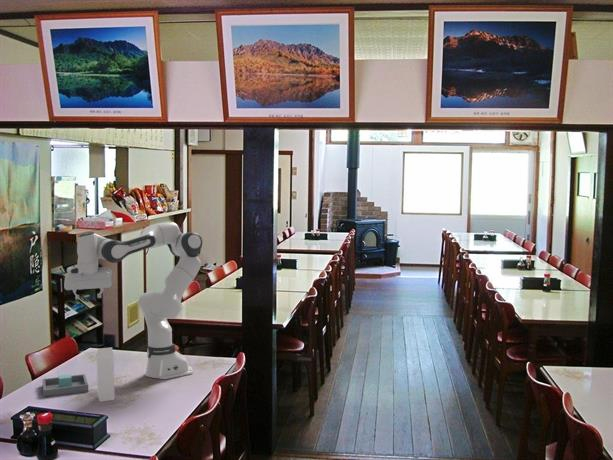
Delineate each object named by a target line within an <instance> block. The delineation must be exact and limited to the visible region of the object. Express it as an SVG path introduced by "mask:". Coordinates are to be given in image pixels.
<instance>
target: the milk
mask: <svg viewBox="0 0 613 460" xmlns="http://www.w3.org/2000/svg"><path fill="white" fill-rule="evenodd" d="M113 351H114V350H113V347H102V348H97V353H96V362H97V363H96V365H97V366H96V367H97V369H96V370H97V374H96V376H97V377H96V378H97V398H98V401H99V402H100V403H101V402H108V401H115V364H114V363H115V358H114V352H113Z"/></svg>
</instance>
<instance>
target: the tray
mask: <svg viewBox="0 0 613 460" xmlns="http://www.w3.org/2000/svg"><path fill="white" fill-rule="evenodd" d="M71 377H72V386H69V387H61V388H59V376H58V377H51V378H50V377H49V378H42V391H43V398H48V397H49V398H50V397H58V396H63V395H64V396H65V395H72V394H79V393H87V392H89V383H88V380H87V377H86V374H85V373H83V374H75V375H74V374H73V375H71Z"/></svg>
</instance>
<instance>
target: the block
mask: <svg viewBox="0 0 613 460" xmlns="http://www.w3.org/2000/svg"><path fill="white" fill-rule="evenodd" d="M71 376H72V374H71V373H69V374H60V375H58V377H59V388H61V387H69V386H72V377H71Z"/></svg>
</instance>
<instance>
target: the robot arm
mask: <svg viewBox="0 0 613 460" xmlns="http://www.w3.org/2000/svg"><path fill="white" fill-rule="evenodd" d="M166 245H167V247H168V248H169V251H170V253H171V254H172V255H173V256H174V257H177V258H179V260H178V262H177V264H176V265H175V266H174V267H173V268H172V270H171V271H170V272H169V273H168V275H167V276H166V277H165V278H164V284H165V288H164V290H163V291H162V292H161V293H160V292H156V291H148V292H144V293H142V294H141V295H140V296H139V298H138V304H137V305H138V308H139V309H140V311H141V313H142V314H143V317H144V319H145V320H144V321H145V323H146V324H145V325H146V326H147V327H146V328H147V342H148V343H147V348H146V353H147V355H146V356H147V364H146V370H145V373H144V375H145V376H146V377H148V378H153V379H160V380H168V379H173V378H174V379H175V378H177V377H178V378H179V377H183V376H189V375H192V374H193V373H194V370H193V369H194V368H193V367H192V366H190V365H189V363H188V359H187V357H185V356H184V354H182V353H180V352H178V351H179V349H180V347H179V346H178V345H176V343H175V344H174V343H173V333H172V332H173V328H172V326H171V325H170V323H169V321H168V319H175V318H177V317H178V316H179V315H180V314H181V312H182V308H183V305H182V300H183V295H184V294H185V292H186V290H187V289H188V288H189V286H190V285H191V283H192V282H193V280H194V279H195V278H196V276H197V275H198V273H199V271H200V269H201V266H202V261H201V259H200V258H199V257H198V256H200V254H201V252H202V251H201V250H202V247H203V239H202V236H201V235H200V234H199V233H198V232H194V231H188V232H186V233H183V232H181V230H180V227H179V225H178V224H177V223H176V222H173V221H166V222H159V223H155V224H150V225H148V226H146V227H144V228H142V229H141V231H140V233H139V236H138V237H135V238H134V237H133V238H131V239H128V240H124V241H123V240H122V241H121V240H116V239H110V238H106V237H104V236H102V235H99V234H98V233H96V232H94V231H90V232H88V231H87V232H84V233H81V234H80V235H78V238H77V244H76V253H77V263H76V264H74V265H71V266H69V267H67V268H66V274H65V277H64V283H63V284H64V285H63V286H64V289H65V290H66V291H72V292H73V295H75V300H80V294H77V293H76V292H77V290H78V291H79V290H91V289H99V290H100V291H99V293H97V294H96V295H97V299H101V298H102V294H103V293H104V291H105V289H108V288H111V287H112V275H113V270H112V269H111V268H109V267H106V266H105V267H99V259H102V260H105V261H107V262H109V263H113V264H116V263H119V262H121V261H123V260H124V259H125V258H127V257H128V256H129V255H132V254H135V253H137V252H141V251H144V250H147V249H155V248H160V247H162V246H166Z"/></svg>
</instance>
